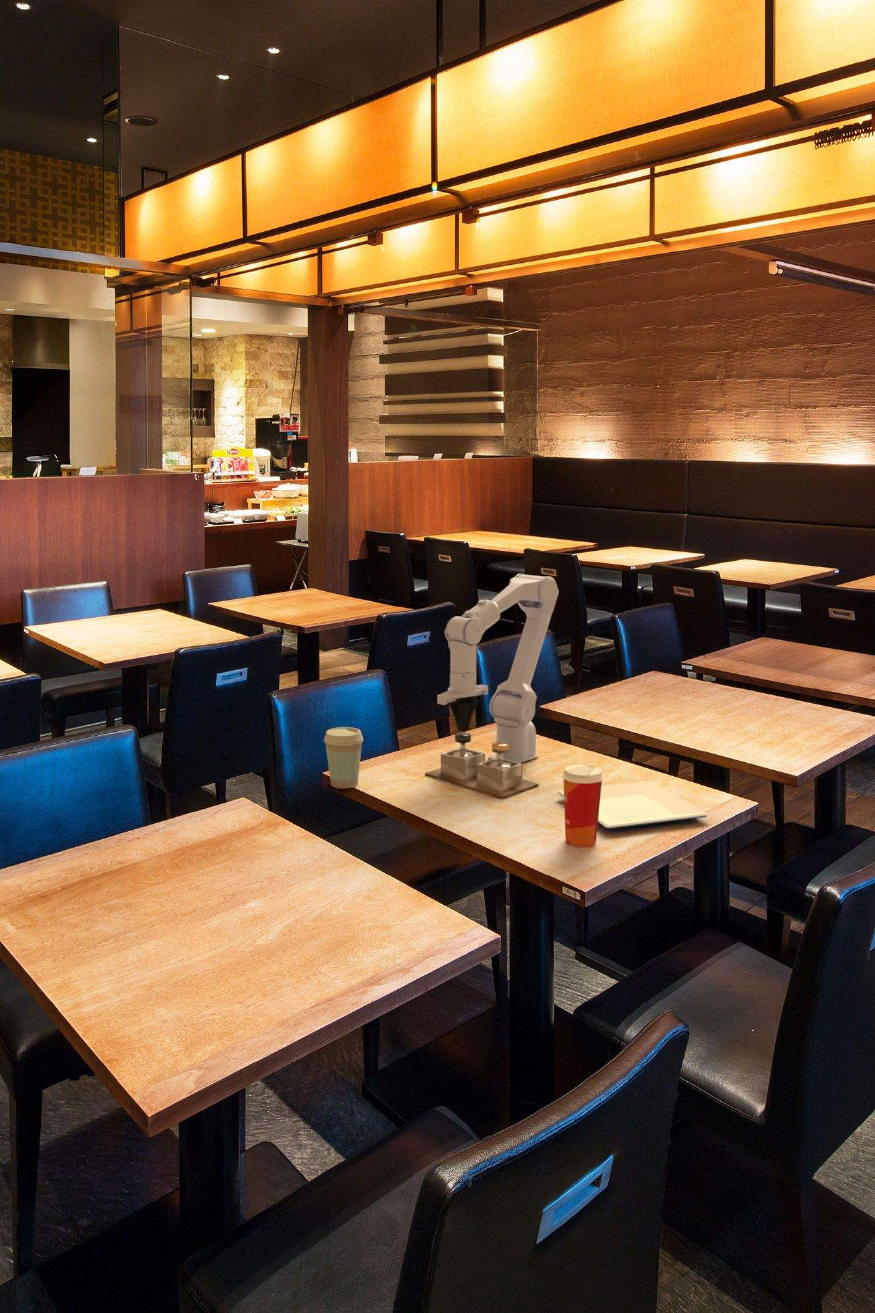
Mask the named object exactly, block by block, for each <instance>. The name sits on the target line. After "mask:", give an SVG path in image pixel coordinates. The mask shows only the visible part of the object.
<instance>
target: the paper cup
mask: <svg viewBox="0 0 875 1313" xmlns="http://www.w3.org/2000/svg"><path fill="white" fill-rule="evenodd" d="M561 777H562V779H563V790H564V797H563V805H564V806H563V807H564V808H563V809H564V830H565V832H564V834H565V842H566V844H567V845H569V846H572V847H576V848H588V847H593V846H595V844H596V843H597V834H598V826H599V825H598V824H599V823H598V816H599V806H600V795H601V786H602V785H603V784H602V783H603V780H604V779H605V778H604V775H603V772H602V769H601V768H600V767H598V766H596V767H595V766H592V765H587V764H572V765H569V766H566V767H565V768H564V770H563V772H562V773H561Z"/></svg>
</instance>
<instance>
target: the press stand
mask: <svg viewBox="0 0 875 1313" xmlns="http://www.w3.org/2000/svg"><path fill="white" fill-rule="evenodd" d="M455 752H460V747H459V748H456V749H452V750H449V751H446V752H443V753H440V768H437V769H434V770H430V771H428V772H424V776H427V777H430V778H434V779H437V780H440V781H443V782H446V783H450V784H453V785H456V786H459V787H463V788H467V789H469V790H472V791H474V792H475V791H476V792H479V793H482V794H486V795H489V796H492V797H495V798H498V799H501V800H503V799H507V798H509V797H513V796H514V795H517V794H520V793H522V792H525V791H529V790H532V789H534V788H536V787H539V783H538V782H534V781H531V780H527V779H523V776H524V774H523V772H524V771H523V770H524V769H523V768H524V767H523V765H524V763H517V762H514V761H510V760H506V759H503V762H507V763H510V764H511V767H509V768H506V769H503V770H500V769H496V768H493V767H489V764H490V763H492V762H497V758H495V759H489V760H485V759H486V753H484V752H481V751H477V750H473V749H469V748H466V752H471V753H473V756H472V757H469V758H466V759H461V758H457V757H454V756H452V754H453V753H455Z"/></svg>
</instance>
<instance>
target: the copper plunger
mask: <svg viewBox="0 0 875 1313" xmlns="http://www.w3.org/2000/svg"><path fill="white" fill-rule="evenodd" d="M508 750H509V744H508V743H504V742H496V741H495V742H493V743H491V751H492V752H493V753H495V754H496V753H497V762H492V763H490V764H489V767H493V768H496V769H500V770H503V769H506V768H509V767H511V764H510V763H507V762H503V753H506V752H508Z"/></svg>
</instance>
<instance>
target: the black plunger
mask: <svg viewBox="0 0 875 1313" xmlns="http://www.w3.org/2000/svg"><path fill="white" fill-rule="evenodd" d="M471 741H472V735H471V733H469V732H457V733H455V734H454V742H455V743H459V748H460V752H455V753H453V754H452V756H454V757H457V758H461V759H466V758H469V757H472V756H473V753H471V752H466V749H467V748H466V745H467V744H468V743H470V742H471Z"/></svg>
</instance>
